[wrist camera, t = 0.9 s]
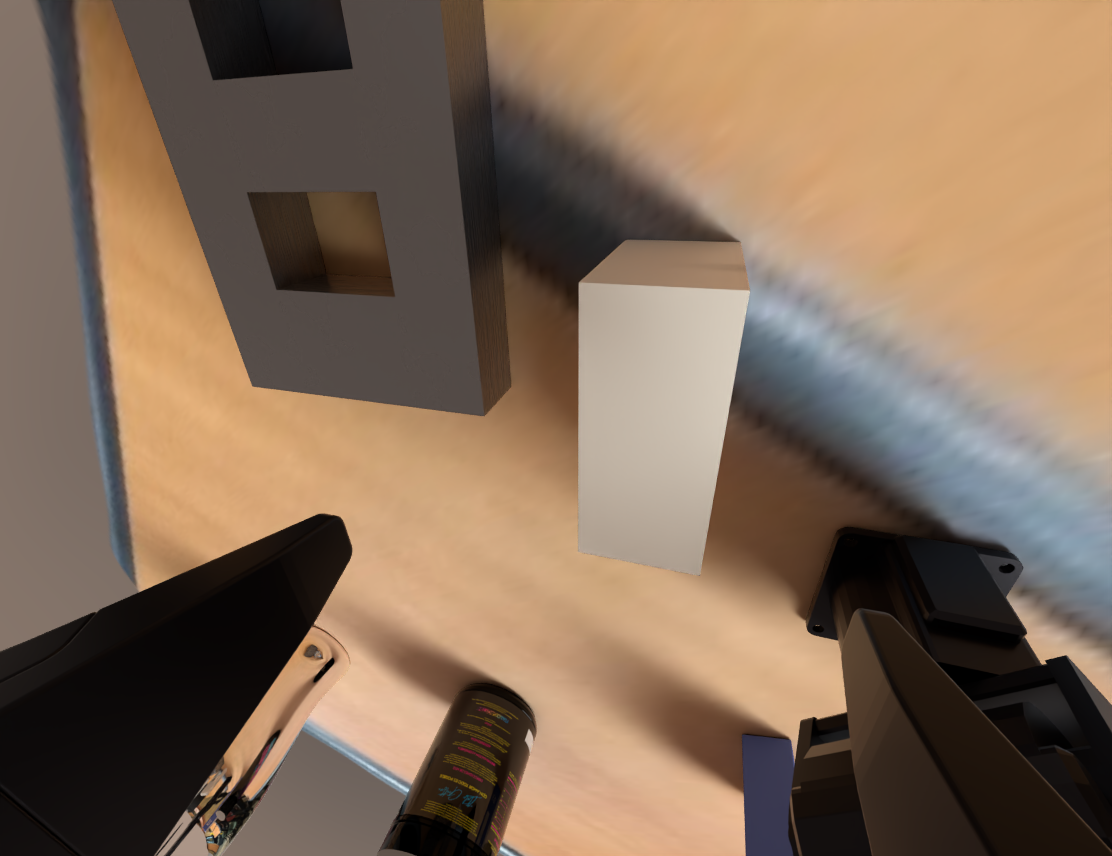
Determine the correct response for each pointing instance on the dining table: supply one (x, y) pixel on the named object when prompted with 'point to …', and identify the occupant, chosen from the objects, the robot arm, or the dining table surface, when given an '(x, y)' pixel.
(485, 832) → the supplement container
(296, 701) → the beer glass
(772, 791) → the walkman
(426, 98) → the slotted plate
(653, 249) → the block
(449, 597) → the dining table surface
